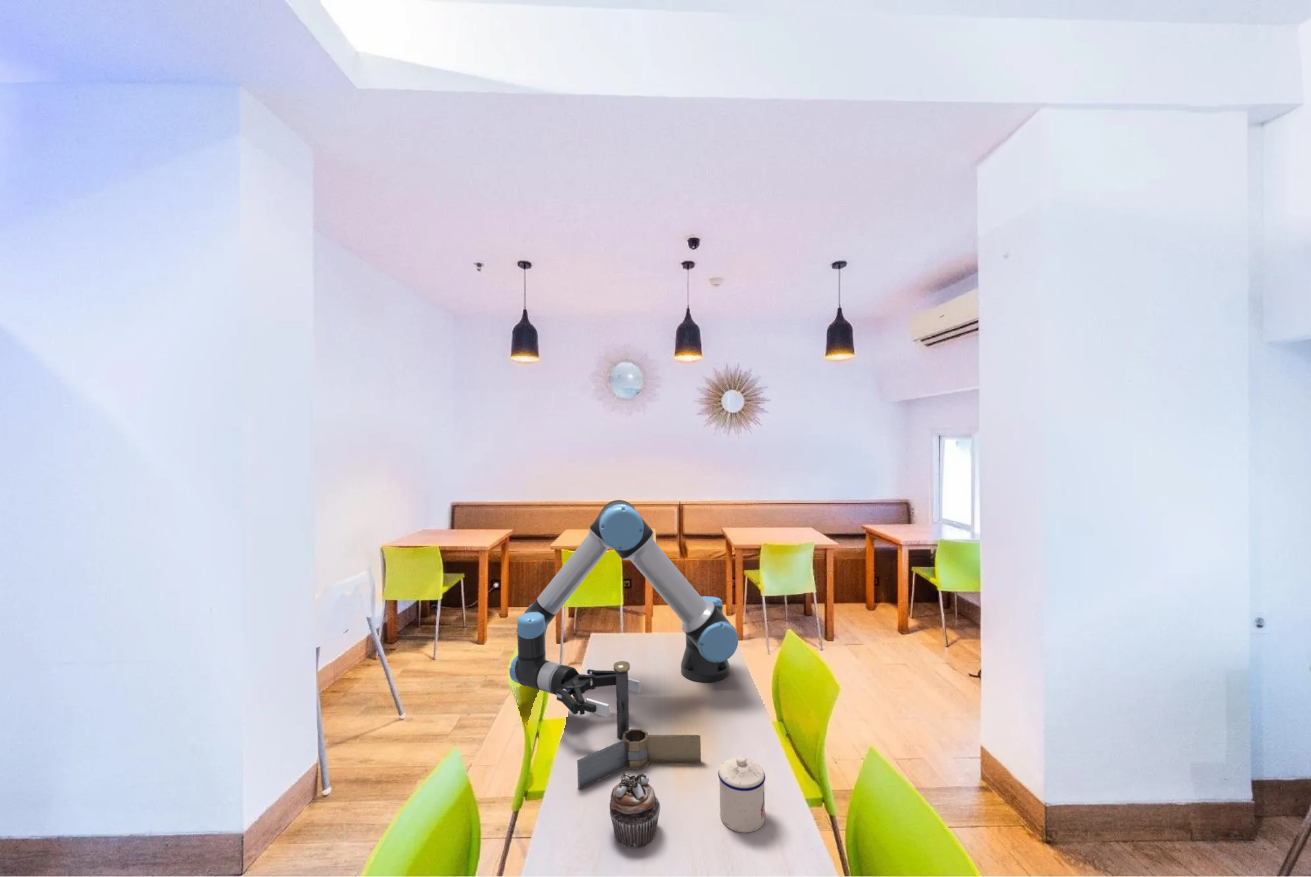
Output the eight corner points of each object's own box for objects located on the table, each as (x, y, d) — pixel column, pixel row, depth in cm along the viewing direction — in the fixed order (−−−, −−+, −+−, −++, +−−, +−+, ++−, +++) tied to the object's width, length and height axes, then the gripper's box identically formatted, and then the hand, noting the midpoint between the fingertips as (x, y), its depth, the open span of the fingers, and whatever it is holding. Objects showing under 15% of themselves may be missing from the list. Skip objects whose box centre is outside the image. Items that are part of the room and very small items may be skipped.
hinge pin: (631, 732, 135) (630, 661, 135) (630, 741, 131) (628, 668, 131) (616, 732, 135) (614, 661, 135) (614, 741, 131) (612, 668, 131)
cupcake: (609, 853, 96) (608, 798, 96) (610, 815, 106) (609, 765, 106) (662, 850, 97) (661, 795, 97) (659, 812, 107) (658, 762, 106)
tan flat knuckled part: (700, 754, 125) (699, 729, 125) (701, 769, 119) (700, 743, 119) (624, 753, 126) (624, 728, 126) (622, 769, 120) (621, 743, 120)
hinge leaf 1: (638, 750, 127) (638, 726, 127) (653, 762, 122) (653, 736, 122) (572, 781, 116) (571, 754, 116) (585, 795, 112) (585, 767, 112)
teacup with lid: (773, 830, 101) (772, 769, 101) (727, 838, 99) (726, 776, 99) (750, 789, 113) (749, 734, 113) (709, 795, 111) (708, 739, 111)
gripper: (588, 674, 154) (651, 691, 143) (525, 715, 133) (594, 739, 122) (587, 648, 154) (650, 663, 143) (525, 685, 132) (593, 706, 122)
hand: (624, 698), depth 132 cm, fingers open, 13 cm apart
